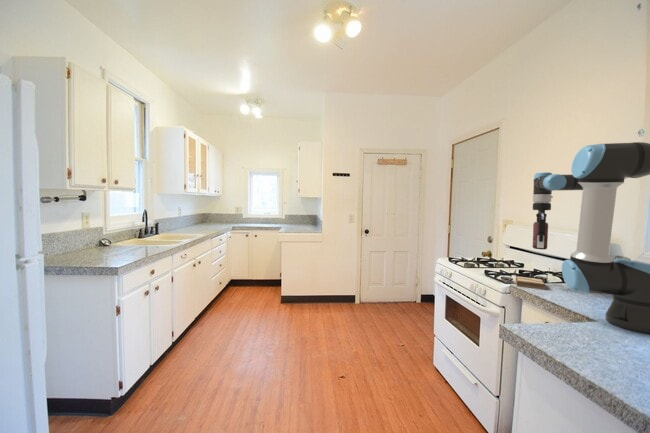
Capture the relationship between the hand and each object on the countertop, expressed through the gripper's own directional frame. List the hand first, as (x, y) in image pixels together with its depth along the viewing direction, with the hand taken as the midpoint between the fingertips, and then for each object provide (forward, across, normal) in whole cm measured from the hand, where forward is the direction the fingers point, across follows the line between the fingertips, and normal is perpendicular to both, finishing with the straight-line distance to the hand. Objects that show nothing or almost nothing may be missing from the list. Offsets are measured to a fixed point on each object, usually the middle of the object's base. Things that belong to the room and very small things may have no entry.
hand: (539, 247), depth 145 cm
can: (+1, +1, 0) cm, 2 cm away
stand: (+22, +3, +4) cm, 22 cm away
